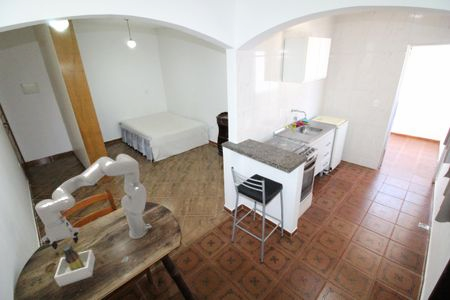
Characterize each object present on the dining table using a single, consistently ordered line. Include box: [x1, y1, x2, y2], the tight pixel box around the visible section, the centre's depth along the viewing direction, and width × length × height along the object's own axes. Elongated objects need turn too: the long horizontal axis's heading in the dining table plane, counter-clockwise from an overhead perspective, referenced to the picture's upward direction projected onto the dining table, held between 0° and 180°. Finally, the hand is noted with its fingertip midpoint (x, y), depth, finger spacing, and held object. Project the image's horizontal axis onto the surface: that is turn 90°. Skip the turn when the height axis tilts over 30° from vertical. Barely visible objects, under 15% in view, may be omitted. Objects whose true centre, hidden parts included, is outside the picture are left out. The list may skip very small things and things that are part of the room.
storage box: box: [53, 249, 96, 288], centre depth 126 cm, size 16×13×8 cm
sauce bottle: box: [62, 244, 84, 271], centre depth 123 cm, size 7×6×20 cm
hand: (66, 244), depth 118 cm, fingers open, 9 cm apart
